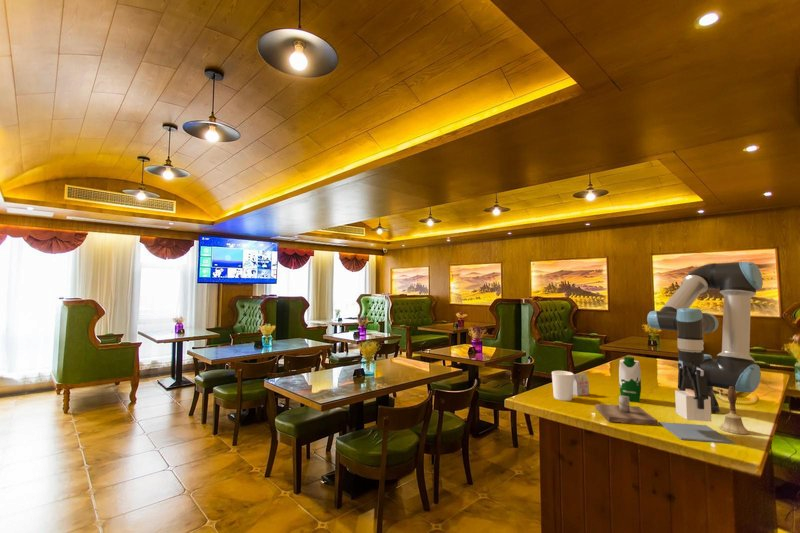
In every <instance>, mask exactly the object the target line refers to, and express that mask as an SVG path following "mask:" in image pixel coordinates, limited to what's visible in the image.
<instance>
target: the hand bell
mask: <svg viewBox="0 0 800 533" xmlns="http://www.w3.org/2000/svg"><path fill="white" fill-rule="evenodd" d="M726 395H727V399H728V402H729V413H726V414H725V415H724V422H722V424H721V425H720V426H719V429H720V430H722V431H723V432H726V433H731V434H735V435H742V436H743V435H749V434H750V431H749V430H748V429H747V428H746V427H745V425H744V423H743V420H742V416H740V415H738V414H737V410H736V402H737V398H738V396H737V391H735V389H734V387H732V386H729V389H727V394H726Z"/></svg>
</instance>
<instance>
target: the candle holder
mask: <svg viewBox="0 0 800 533" xmlns="http://www.w3.org/2000/svg"><path fill="white" fill-rule="evenodd" d="M573 379H574V373H573V372H571V371H566V370H553V371H551V381H552V382H551V383H552V391H553V392H552V393H553V398H554V399H555V400H558V401H563V402H568V401H569V402H570V401H573V398H574V395H573Z"/></svg>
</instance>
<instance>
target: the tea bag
mask: <svg viewBox="0 0 800 533" xmlns="http://www.w3.org/2000/svg"><path fill="white" fill-rule="evenodd" d="M573 374H574V373H573ZM573 396H576V397H581V396H590V383H589V379H588V376H587V373H578V374H577V373H576V374H574V379H573Z"/></svg>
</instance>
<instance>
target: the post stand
mask: <svg viewBox="0 0 800 533" xmlns="http://www.w3.org/2000/svg"><path fill="white" fill-rule="evenodd" d="M618 403H619V404H618V405H617V404H601V403H595V410H596V411H597V412H598V413H600V415H601V416H602V417H604V418H605V420H606V421H607V422H608V423H614V422H621V423H620V424H628V423H636V424H635V425H643V424H648V425H647V426H659V421H658V419H656V418H655V417H653V416H652V414H650V413H648V412H647V411H646V410H644V409H643V408H641V407H640V406H634V405H632V406H631V405H630V401H629V397H628V396H623V395H621V394H620V395H619V396H618Z"/></svg>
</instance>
